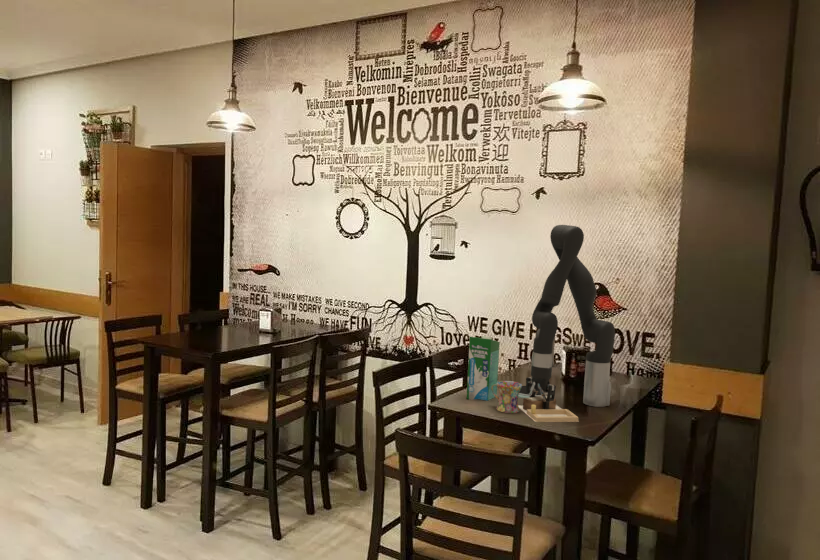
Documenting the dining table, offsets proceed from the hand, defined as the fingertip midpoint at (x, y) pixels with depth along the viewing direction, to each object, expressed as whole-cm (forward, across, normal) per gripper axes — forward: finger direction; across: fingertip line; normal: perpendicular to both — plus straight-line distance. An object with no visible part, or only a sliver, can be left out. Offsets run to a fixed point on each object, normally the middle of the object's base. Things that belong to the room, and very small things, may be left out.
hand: (538, 408), depth 237 cm
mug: (+2, -5, -12) cm, 13 cm away
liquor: (+1, -62, +57) cm, 84 cm away
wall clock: (+2, -20, +15) cm, 25 cm away
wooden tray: (+1, +5, -1) cm, 5 cm away
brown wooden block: (0, 0, 0) cm, 0 cm away
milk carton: (+2, -23, -10) cm, 25 cm away
